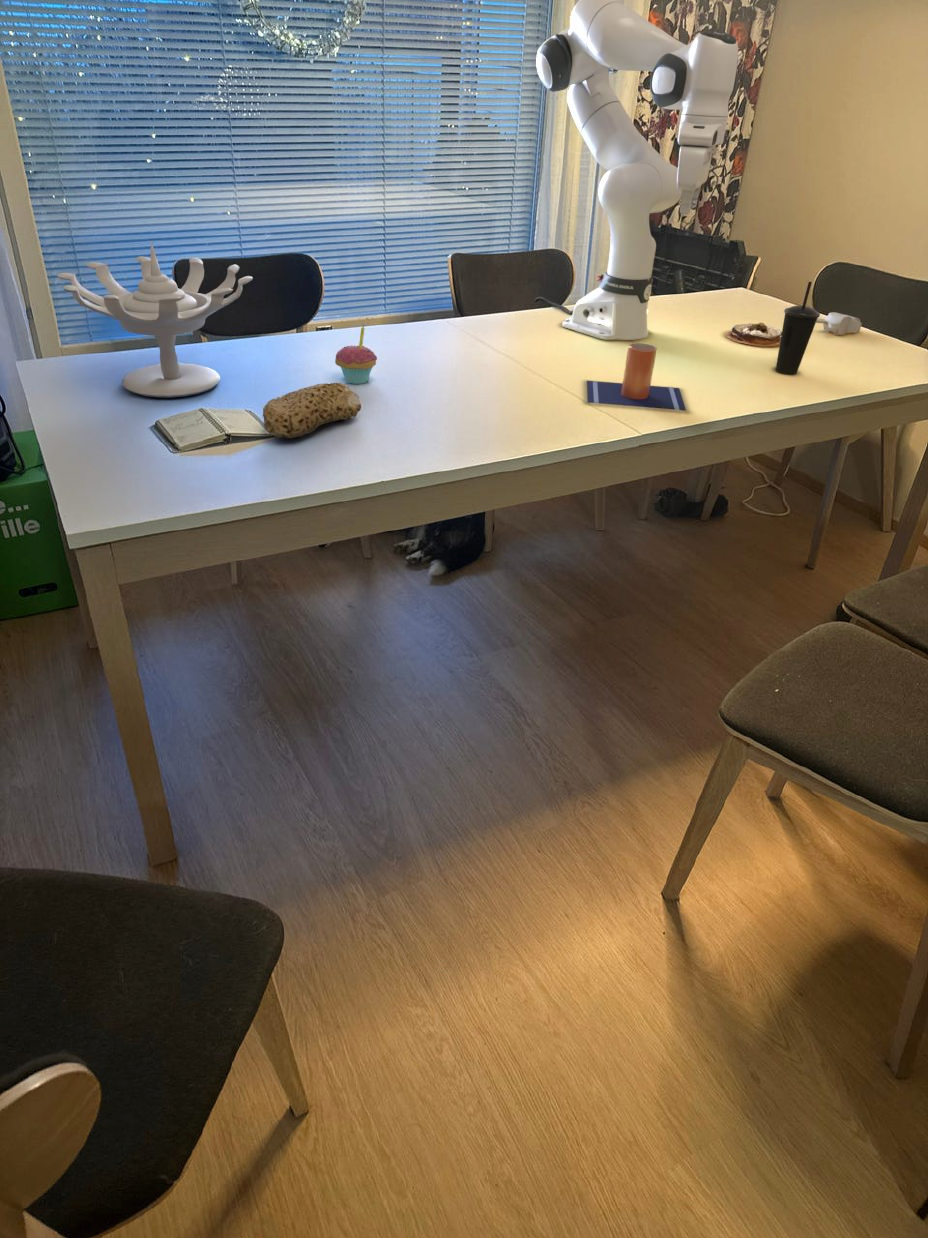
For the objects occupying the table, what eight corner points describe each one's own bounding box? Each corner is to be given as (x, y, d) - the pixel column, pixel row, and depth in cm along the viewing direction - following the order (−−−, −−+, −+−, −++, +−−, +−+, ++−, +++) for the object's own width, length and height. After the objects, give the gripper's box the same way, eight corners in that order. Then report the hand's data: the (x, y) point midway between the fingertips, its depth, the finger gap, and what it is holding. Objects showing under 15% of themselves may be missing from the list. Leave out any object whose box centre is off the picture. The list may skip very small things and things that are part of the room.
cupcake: (383, 377, 178) (382, 320, 171) (366, 389, 171) (365, 330, 165) (346, 371, 180) (344, 314, 174) (328, 383, 174) (326, 324, 167)
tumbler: (615, 394, 175) (623, 346, 169) (628, 388, 179) (636, 340, 173) (640, 401, 172) (649, 352, 167) (653, 394, 176) (661, 346, 171)
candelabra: (104, 427, 148) (71, 265, 133) (65, 370, 172) (33, 226, 157) (286, 400, 164) (275, 252, 149) (226, 351, 188) (212, 219, 173)
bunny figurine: (872, 319, 225) (840, 317, 217) (865, 338, 228) (832, 338, 220) (843, 310, 231) (810, 309, 223) (836, 329, 234) (803, 328, 226)
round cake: (715, 331, 222) (719, 315, 220) (764, 329, 226) (768, 314, 223) (744, 347, 210) (748, 330, 208) (796, 346, 214) (800, 329, 212)
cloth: (587, 404, 171) (587, 402, 170) (586, 382, 182) (586, 380, 182) (685, 412, 169) (686, 410, 169) (678, 389, 181) (679, 387, 181)
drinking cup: (805, 378, 192) (831, 287, 181) (771, 374, 193) (794, 283, 182) (800, 368, 198) (825, 279, 187) (767, 365, 199) (790, 276, 188)
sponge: (332, 412, 163) (238, 410, 150) (342, 374, 159) (246, 369, 146) (367, 446, 156) (272, 447, 143) (378, 408, 152) (281, 406, 139)
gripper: (692, 128, 172) (679, 203, 179) (677, 133, 155) (664, 215, 163) (723, 131, 170) (709, 206, 178) (712, 136, 154) (697, 218, 161)
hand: (687, 210), depth 170 cm, fingers open, 8 cm apart
